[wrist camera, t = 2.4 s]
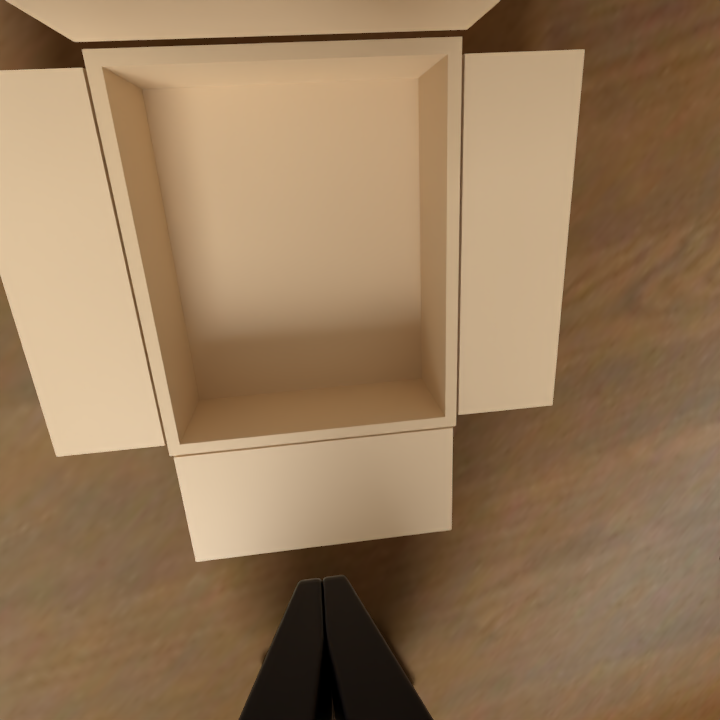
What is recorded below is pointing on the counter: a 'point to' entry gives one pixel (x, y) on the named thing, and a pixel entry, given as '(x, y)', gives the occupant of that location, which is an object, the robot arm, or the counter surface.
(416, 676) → the counter surface
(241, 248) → the carton
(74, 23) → the far flap
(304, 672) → the robot arm
